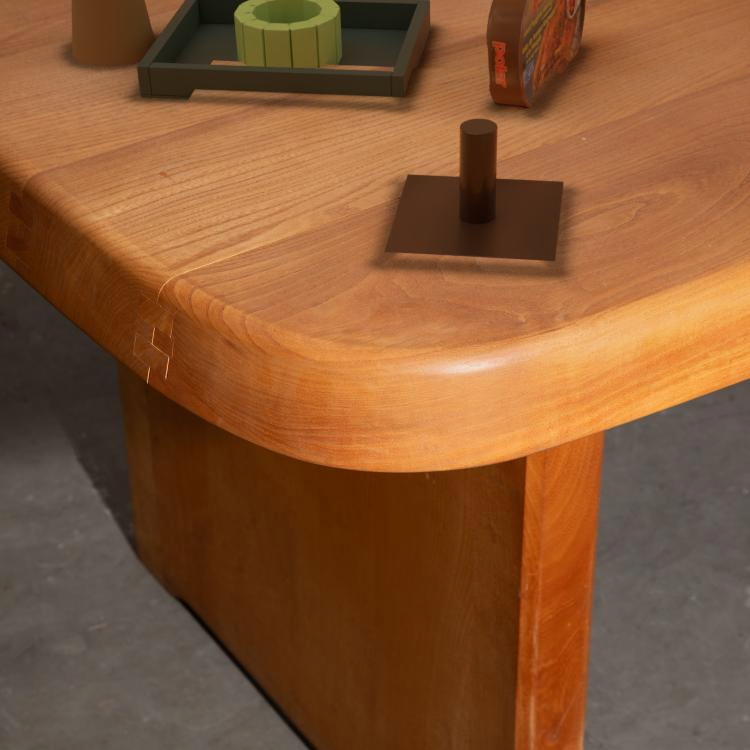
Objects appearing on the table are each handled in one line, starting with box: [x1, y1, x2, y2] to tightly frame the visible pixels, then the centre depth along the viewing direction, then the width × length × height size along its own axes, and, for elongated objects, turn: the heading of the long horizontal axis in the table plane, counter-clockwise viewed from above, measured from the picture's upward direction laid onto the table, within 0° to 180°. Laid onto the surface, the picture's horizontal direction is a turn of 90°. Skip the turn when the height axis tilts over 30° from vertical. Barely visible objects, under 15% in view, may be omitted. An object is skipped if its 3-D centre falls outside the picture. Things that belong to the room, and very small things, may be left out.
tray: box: [136, 0, 431, 100], centre depth 100 cm, size 18×14×3 cm
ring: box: [234, 0, 342, 69], centre depth 99 cm, size 7×7×4 cm
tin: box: [485, 0, 587, 109], centre depth 95 cm, size 15×3×8 cm, turn 158°
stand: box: [384, 118, 565, 262], centre depth 79 cm, size 9×9×6 cm
